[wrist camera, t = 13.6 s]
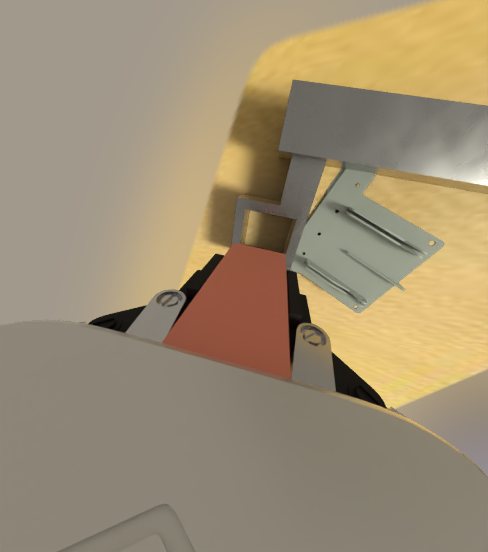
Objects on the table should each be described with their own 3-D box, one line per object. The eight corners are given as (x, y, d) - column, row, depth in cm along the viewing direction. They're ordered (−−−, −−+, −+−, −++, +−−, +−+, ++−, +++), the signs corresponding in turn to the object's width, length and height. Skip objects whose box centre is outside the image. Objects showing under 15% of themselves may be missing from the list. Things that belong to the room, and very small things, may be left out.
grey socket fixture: (420, 291, 23) (459, 323, 18) (236, 250, 25) (224, 268, 20) (539, 146, 15) (669, 130, 10) (257, 104, 18) (246, 73, 12)
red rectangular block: (272, 296, 13) (255, 512, 5) (228, 285, 14) (136, 471, 5) (285, 254, 11) (295, 481, 3) (233, 242, 12) (106, 419, 3)
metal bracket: (493, 233, 15) (353, 335, 22) (452, 227, 19) (349, 312, 27) (340, 150, 17) (262, 268, 24) (339, 163, 22) (274, 258, 29)
